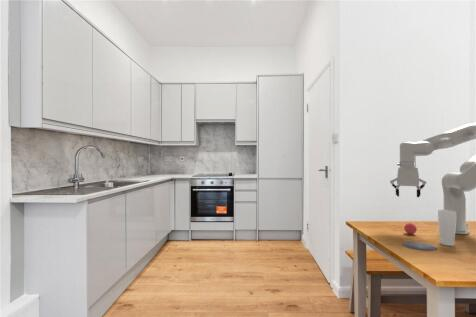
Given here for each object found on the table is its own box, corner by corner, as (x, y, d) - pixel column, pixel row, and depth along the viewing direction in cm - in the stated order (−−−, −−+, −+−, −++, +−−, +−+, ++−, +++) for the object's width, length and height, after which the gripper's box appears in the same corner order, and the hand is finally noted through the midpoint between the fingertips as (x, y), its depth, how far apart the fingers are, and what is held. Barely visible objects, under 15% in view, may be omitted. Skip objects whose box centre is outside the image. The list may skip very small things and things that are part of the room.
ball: (408, 232, 156) (408, 221, 156) (419, 234, 151) (418, 223, 151) (401, 233, 153) (401, 222, 154) (412, 235, 149) (412, 224, 149)
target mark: (413, 241, 138) (413, 240, 138) (443, 248, 126) (443, 247, 126) (395, 244, 132) (395, 243, 132) (425, 252, 120) (425, 251, 120)
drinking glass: (459, 247, 128) (459, 212, 129) (442, 246, 130) (442, 211, 130) (451, 243, 135) (451, 210, 135) (435, 242, 136) (435, 209, 137)
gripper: (390, 165, 161) (390, 196, 161) (427, 165, 155) (428, 198, 154) (389, 165, 168) (389, 195, 168) (424, 165, 162) (424, 196, 161)
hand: (407, 196), depth 161 cm, fingers open, 9 cm apart
